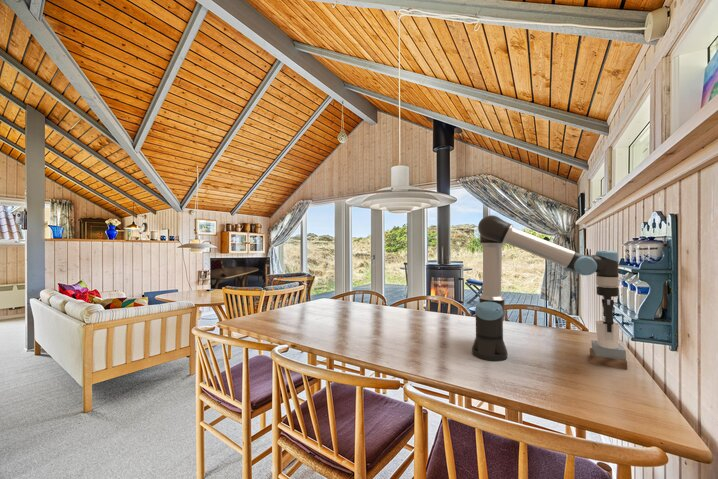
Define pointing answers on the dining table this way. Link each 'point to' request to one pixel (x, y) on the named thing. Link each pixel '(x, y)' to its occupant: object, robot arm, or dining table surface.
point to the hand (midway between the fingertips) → (608, 335)
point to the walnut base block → (607, 361)
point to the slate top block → (609, 351)
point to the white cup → (601, 335)
